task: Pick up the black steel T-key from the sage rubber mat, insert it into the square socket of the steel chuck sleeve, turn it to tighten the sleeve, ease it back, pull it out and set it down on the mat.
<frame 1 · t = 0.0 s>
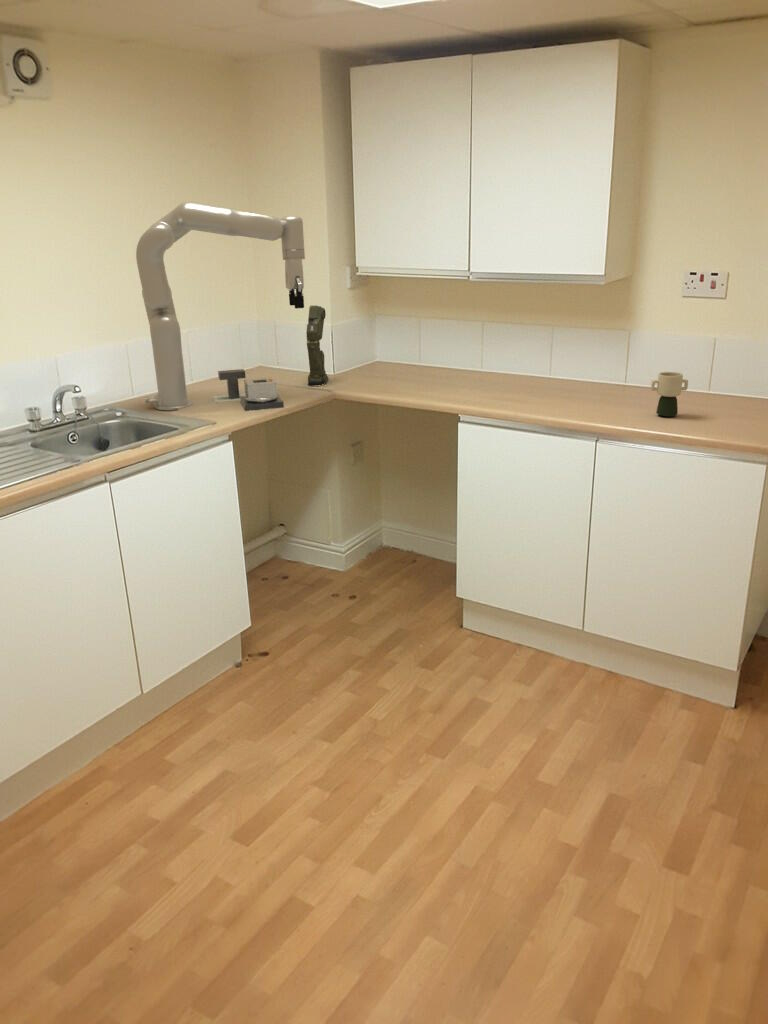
hand: (296, 306, 286), 31 cm above the worktop, tool pointing down, fingers open, 9 cm apart
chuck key: (233, 397, 295), point 1 cm above the worktop, touching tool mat
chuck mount: (261, 405, 285), on the worktop
character mug: (666, 416, 256), on the worktop
mechanical leg: (318, 383, 318), on the worktop
chuck sleeve: (260, 389, 283), point 5 cm above the worktop, hinge at 0.0°
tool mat: (231, 399, 295), on the worktop
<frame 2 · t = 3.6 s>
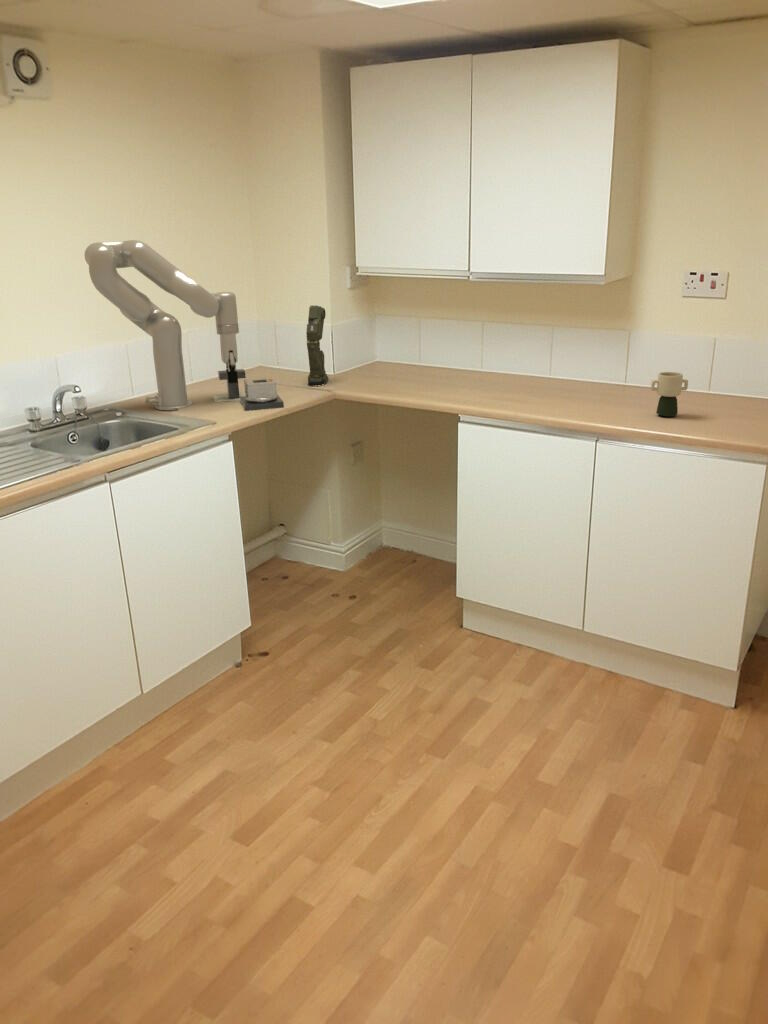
hand: (232, 380, 293), 7 cm above the worktop, tool pointing down, fingers closed on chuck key, 4 cm apart
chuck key: (233, 397, 295), point 1 cm above the worktop, touching gripper, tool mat
everything else where it was.
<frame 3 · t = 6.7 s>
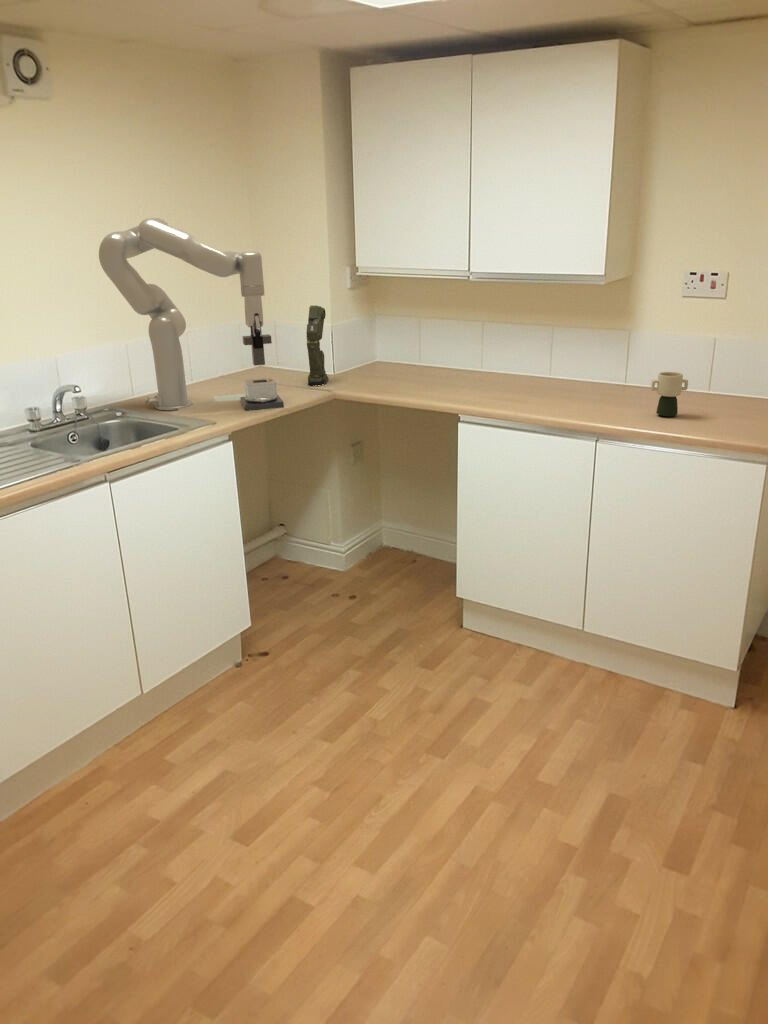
hand: (257, 346, 278), 20 cm above the worktop, tool pointing down, fingers closed on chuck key, 4 cm apart
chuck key: (259, 364, 280), point 14 cm above the worktop, touching gripper
everything else where it was.
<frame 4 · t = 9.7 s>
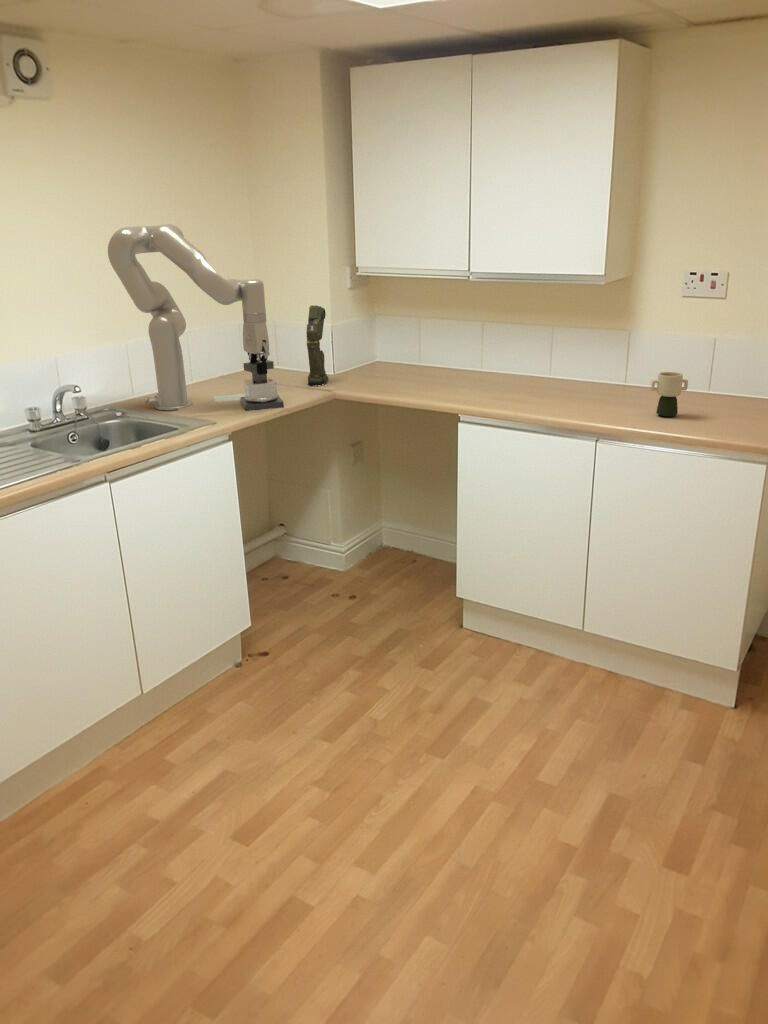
hand: (259, 372, 281), 11 cm above the worktop, tool pointing down, fingers closed on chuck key, 4 cm apart
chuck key: (260, 389, 283), point 5 cm above the worktop, touching chuck sleeve, gripper
chuck sleeve: (260, 389, 283), point 5 cm above the worktop, hinge at 1.5°, touching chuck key
everything else where it was.
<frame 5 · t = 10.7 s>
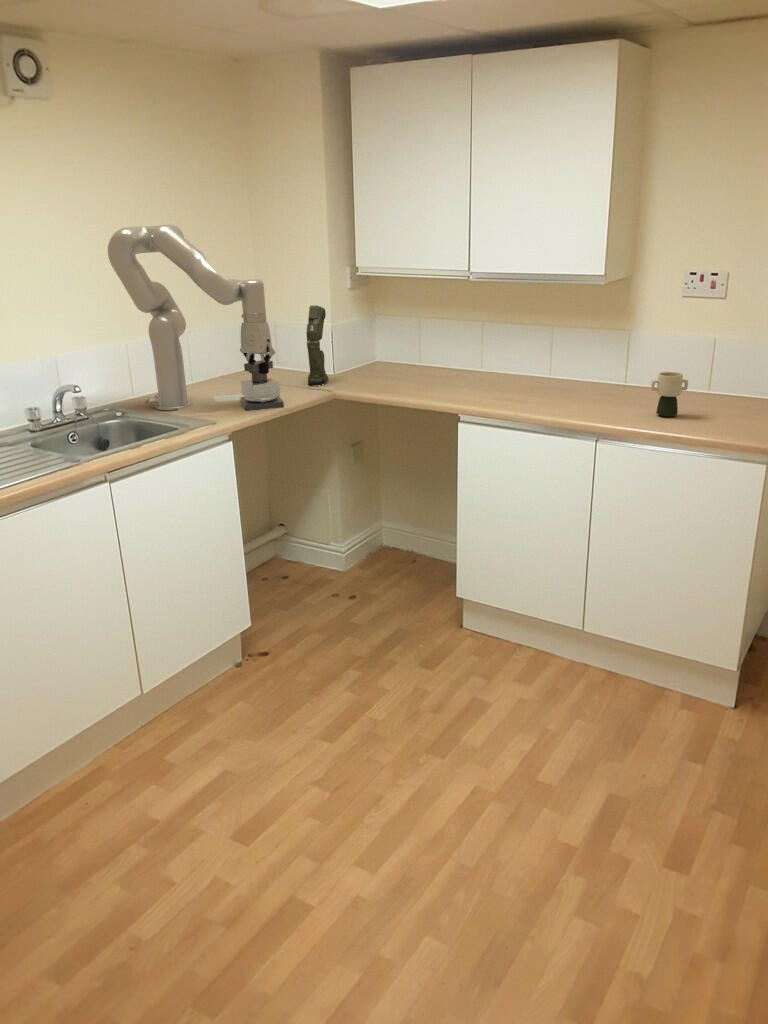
hand: (259, 372, 281), 11 cm above the worktop, tool pointing down, fingers closed on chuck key, 4 cm apart
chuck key: (260, 389, 283), point 5 cm above the worktop, touching gripper
chuck sleeve: (260, 389, 283), point 5 cm above the worktop, hinge at 18.8°
everything else where it was.
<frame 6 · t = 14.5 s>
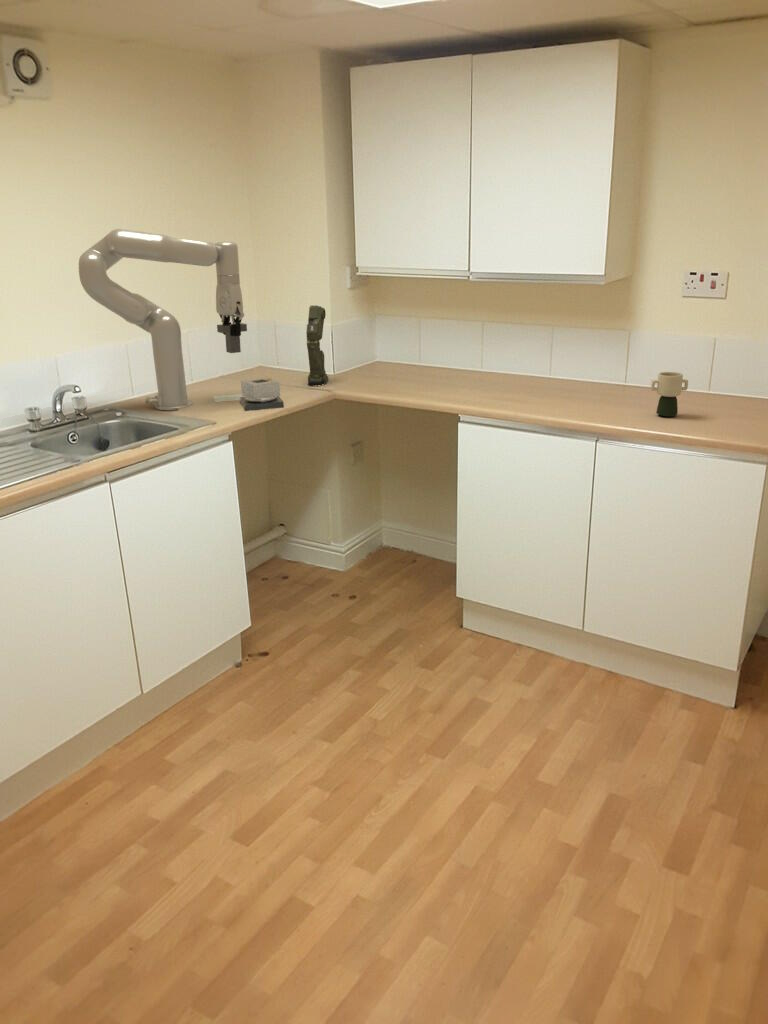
hand: (232, 334, 285), 23 cm above the worktop, tool pointing down, fingers closed on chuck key, 4 cm apart
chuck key: (233, 352, 287), point 17 cm above the worktop, touching gripper
everything else where it was.
when the fingers open (8 cm above the worktop, at t = 18.2 s): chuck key stays where it is, resting on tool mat.
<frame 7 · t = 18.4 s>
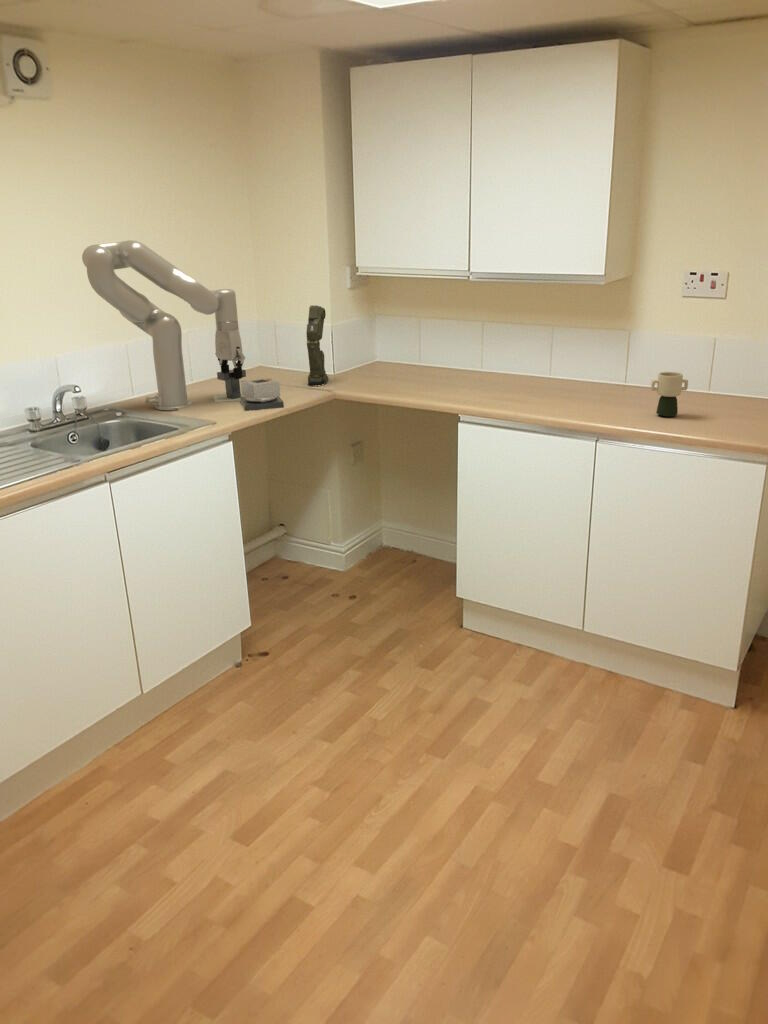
hand: (232, 377, 292), 8 cm above the worktop, tool pointing down, fingers open, 6 cm apart
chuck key: (233, 397, 295), point 1 cm above the worktop, touching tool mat
everything else where it was.
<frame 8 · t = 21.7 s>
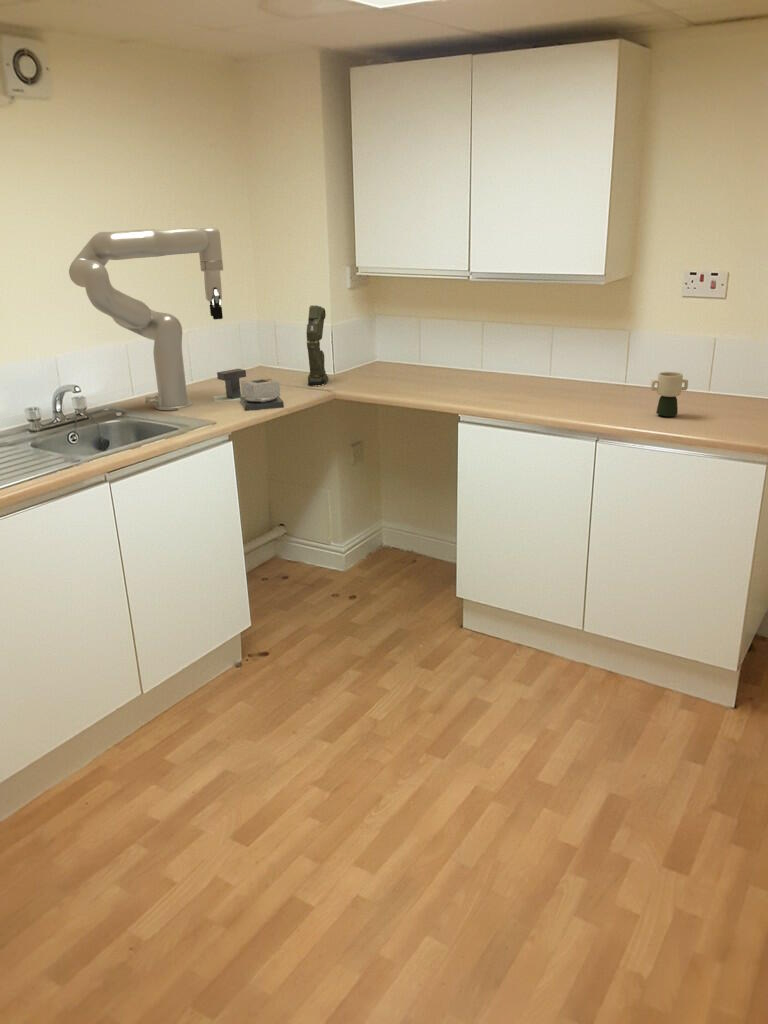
hand: (216, 317, 288), 28 cm above the worktop, tool pointing down, fingers open, 9 cm apart
nothing on the worktop moved.
at the end: chuck sleeve at +19° (first picture: +0°); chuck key inside the target area on the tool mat (1.0 cm from its centre), point 0.6 cm above the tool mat's base; the gripper is holding nothing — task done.
